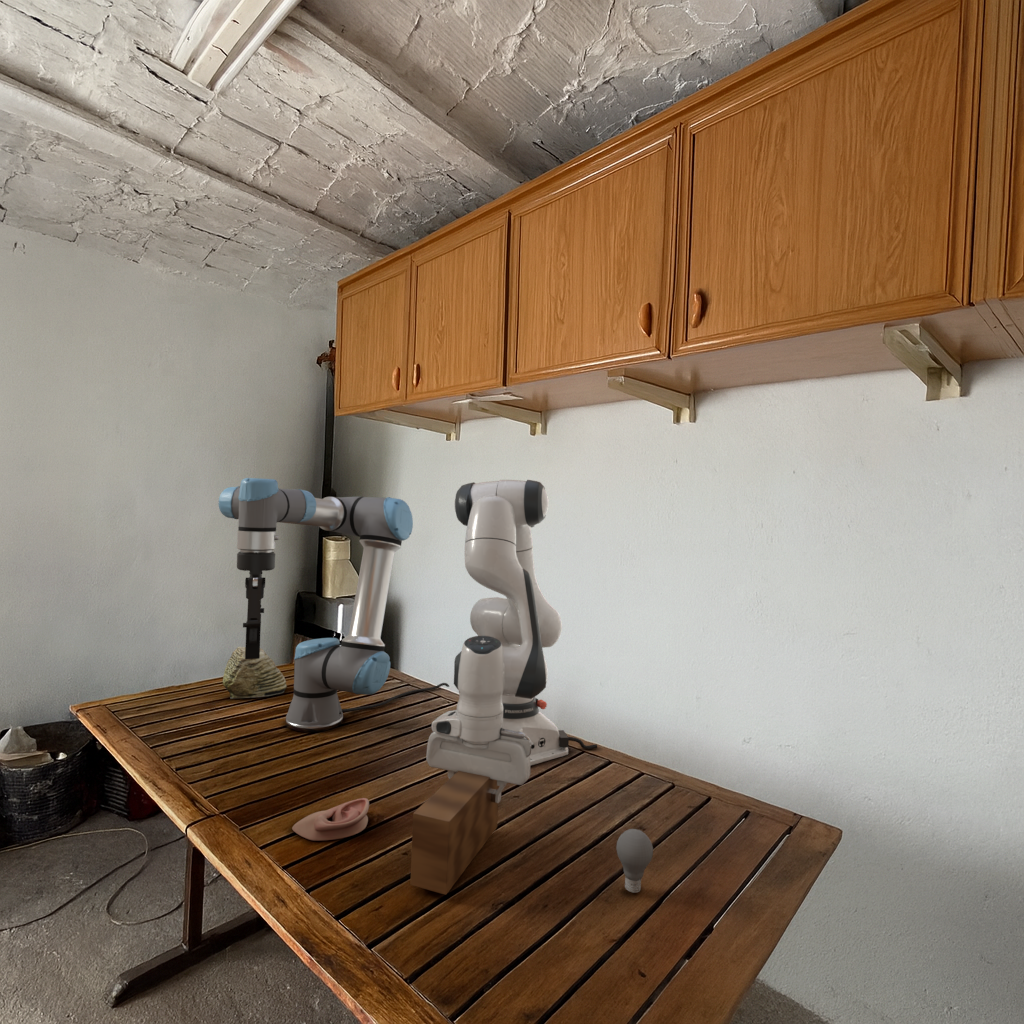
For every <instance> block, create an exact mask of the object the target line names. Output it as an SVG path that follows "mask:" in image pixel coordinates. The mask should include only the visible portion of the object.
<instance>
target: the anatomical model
mask: <svg viewBox="0 0 1024 1024" xmlns="http://www.w3.org/2000/svg"><path fill="white" fill-rule="evenodd" d="M369 807H370V801H369V799H368V798H366V797H362V798H357V799H356V798H355V799H353V800H350V801H346V802H343V803H341V804H338V805H336V806H334V807H331V808H329V809H326V810H321V811H320V810H319V811H316V812H313V813H311V814H309V815H306V816H305V817H303V818H302V819H299V820H298V821H296V823H295V824H293V826H292V828H291V829H292V831H293V832H294V833H295V834H297V835H299V836H300V837H302V838H305V839H306V840H309V841H314V842H315V841H317V842H319V841H320V842H321V841H332V840H340V839H344V838H348V837H351V836H355V835H356V834H359V833H361V832H362V831H364V830H365V829H366V827H367V825H368V822H369V816H368V815H367V814H368V812H369Z"/></svg>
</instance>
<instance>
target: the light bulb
mask: <svg viewBox="0 0 1024 1024" xmlns="http://www.w3.org/2000/svg"><path fill="white" fill-rule="evenodd" d="M615 849H616V854H617V857H618V859H619V861H620V863H621V865H622V867H623V873H624V874H623V875H624V876H625V878H624V888H625V890H627V891H628V892H630V893H634V894H635V893H639V892H640V891H641V889H642V887H641V886H642V879H643V877H644V875H645V871H646V868H647V867H648V866H649V864H650V863H651V861H652V859H653V855H654V847H653V843H652V841H651V838H649V836H648V835H647V834H646V833H645V832H643V831H642V830H641V829H636V828H629V829H627V830H625V831H623V832H622V833H621V834H620V835H619V837H618V839H617V841H616V847H615Z"/></svg>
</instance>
